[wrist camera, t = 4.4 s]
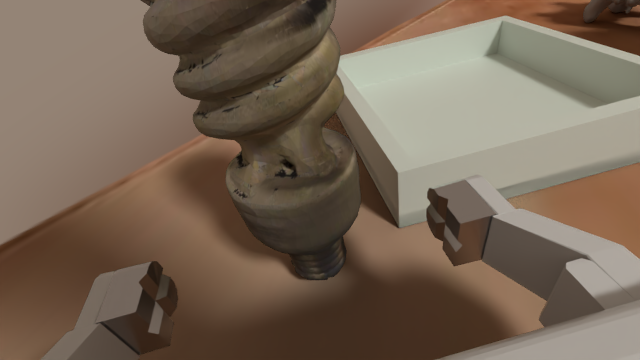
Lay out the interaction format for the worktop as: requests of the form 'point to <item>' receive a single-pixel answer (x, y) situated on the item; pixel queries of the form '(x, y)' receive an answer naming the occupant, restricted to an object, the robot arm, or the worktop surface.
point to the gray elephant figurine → (616, 3)
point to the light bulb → (270, 116)
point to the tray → (488, 110)
